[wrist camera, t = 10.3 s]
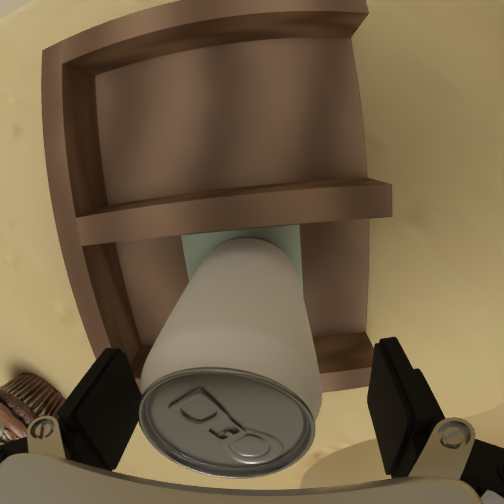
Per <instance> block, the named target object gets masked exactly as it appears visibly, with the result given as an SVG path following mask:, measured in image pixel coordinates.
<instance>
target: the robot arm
mask: <svg viewBox="0 0 504 504" xmlns="http://www.w3.org/2000/svg"><path fill="white" fill-rule="evenodd" d="M141 396H142V395H141V392H140V390H139V387H138V385H137V383H136V380H135V377H134V375H133V372H132V370H131V367H130V364H129V362H128V359H127V356H126V354H125V353H124V352H122V350H121V349H119V348H106V349H105V350H104V351H103V352H102V353H101V355H100V356H99V357H98V359H97V360H96V361H95V362H94V364H93V365H92V366H91V368H90V369H89V370H88V372H87V373H86V374H85V375H84V377H83V378H82V379H81V381H80V382H79V383H78V385H77V386H76V387H75V389H74V390H73V391H72V393H71V394H70V395H69V397H68V398H67V400H66V401H65V402H64V404H63V405H62V406H61V408H60V409H59V410H58V412H57V415H58V416H59V418H58V419H57V420H56V419H55V418H54V417H51V416H41V417H39V418H36V419H35V420H34V421H32V422H31V424H30V425H29V427H28V429H27V436H26V437H23V438H20V439H17V440H14V441H11V442H8V443H5V444H2V445H0V504H504V448H501V447H498V446H495V445H492V444H489V443H486V442H483V441H480V440H477V439H475V430H474V428H473V427H472V425H471V424H470V423H469V422H468V421H466V420H464V419H461V418H456V417H453V418H447V419H445V417H444V415H443V412H442V410H441V408H440V406H439V404H438V402H437V400H436V398H435V397H434V395H433V393H432V391H431V389H430V387H429V385H428V383H427V381H426V379H425V377H424V375H423V374H422V372H421V370H420V369H418V368H417V369H413V368H412V366H411V364H410V362H409V360H408V358H407V356H406V354H405V352H404V351H403V349H402V347H401V345H400V343H399V341H398V339H397V338H396V337H390V338H383V339H380V341H379V343H376V344H375V346H374V354H373V362H372V369H371V376H370V383H369V390H368V396H367V403H368V408H369V411H370V415H371V419H372V422H373V426H374V430H375V433H376V437H377V441H378V445H379V449H380V453H381V457H382V461H383V465H384V469H385V473H386V475H390V474H391V477H392V479H386V480H380V481H372V482H365V483H358V484H350V485H342V486H332V487H320V488H308V489H288V490H242V489H222V488H209V487H199V486H190V485H182V484H174V483H167V482H161V481H155V480H150V479H144V478H139V477H134V476H129V475H125V474H121V473H116V472H112V470H114V469H116V467H117V465H118V463H119V461H120V459H121V457H122V455H123V453H124V450H125V448H126V446H127V444H128V442H129V440H130V438H131V435H132V433H133V431H134V429H135V427H136V425H137V423H138V421H139V420H138V404H139V401H140V398H141Z"/></svg>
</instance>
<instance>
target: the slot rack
mask: <svg viewBox="0 0 504 504" xmlns="http://www.w3.org/2000/svg"><path fill="white" fill-rule="evenodd" d="M368 14H369V12H368V7H367V4H366V0H180V1H176V2H172V3H168V4H164V5H160V6H156V7H152V8H149V9H145V10H142V11H138V12H135V13H132V14H129V15H126V16H123V17H120V18H117V19H114V20H111V21H108V22H106V23H103V24H100V25H98V26H95V27H93V28H90V29H88V30H85V31H83V32H81V33H78V34H76V35H74V36H71V37H69V38H67V39H65V40H63V41H61V42H58V43H56V44H54V45H52V46H50V47H48V48H46V49H44V50H42V78H41V92H42V122H43V137H44V148H45V158H46V167H47V175H48V182H49V189H50V195H51V201H52V207H53V212H54V218H55V223H56V228H57V232H58V237H59V242H60V246H61V250H62V254H63V258H64V262H65V266H66V270H67V274H68V277H69V281H70V284H71V288H72V291H73V294H74V298H75V301H76V304H77V307H78V310H79V313H80V316H81V319H82V322H83V325H84V328H85V331H86V334H87V336H88V339H89V342H90V345H91V347H92V350H93V352H94V355H95V357H96V360H97V359H98V357H99V356H100V355H101V353H102V352H103V351H104V350H105V349H106V348H119V349H121V350H122V352H124V353H125V354H126V356H127V359H128V362H129V364H130V367H131V370H132V372H133V375H134V377H135V380H136V383H137V385H138V387H139V390H140V392H141V374H142V370H143V367H144V364H145V361H146V359H147V357H148V355H149V353H150V351H151V349H152V347H153V345H154V343H155V341H156V339H157V337H158V336H159V334H160V332H161V330H162V328H163V327H164V325H165V323H166V321H167V320H168V318H169V316H170V314H171V313H172V311H173V309H174V307H175V306H176V304H177V302H178V300H179V299H180V297H181V295H182V294H183V292H184V290H185V288H186V287H187V285H188V283H189V282H190V280H191V278H192V277H193V275H194V273H195V272H196V270H197V268H198V267H199V265H200V264H201V262H202V261H203V259H204V258H205V257H206V255H207V254H208V253H209V252H210V251H211V250H213V249H214V248H215V247H217V246H218V245H220V244H222V243H224V242H226V241H229V240H232V239H237V238H255V239H260V240H263V241H266V242H269V243H271V244H273V245H274V246H276V247H278V248H279V249H280V250H282V251H283V252H284V253H285V254H286V255H287V256H288V258H289V259H290V260H291V262H292V263H293V265H294V267H295V269H296V272H297V275H298V278H299V282H300V286H301V290H302V294H303V298H304V302H305V307H306V311H307V315H308V320H309V324H310V329H311V333H312V338H313V343H314V348H315V352H316V357H317V362H318V368H319V373H320V379H321V386H322V393H323V392H332V391H339V390H347V389H354V388H360V387H366V386H369V383H370V376H371V369H372V362H373V354H374V348H373V346H372V344H371V342H370V340H369V338H368V336H367V334H366V318H367V301H368V276H369V218H382V217H392V184H388V183H384V182H381V181H377V180H373V179H369V178H367V165H366V151H365V139H364V129H363V119H362V110H361V102H360V94H359V87H358V80H357V73H356V67H355V61H354V55H353V49H352V44H351V37H352V35H353V34H354V33H355V31H356V30H357V29H358V27H359V26H360V25H361V23H362V22H363V21H364V19H365V18H366V17H367V15H368ZM141 395H142V393H141Z"/></svg>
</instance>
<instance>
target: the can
mask: <svg viewBox="0 0 504 504" xmlns="http://www.w3.org/2000/svg"><path fill="white" fill-rule="evenodd" d="M141 393H142V396H141V398H140V401H139V404H138V420H139V424H140V427H141V429H142V431H143V433H144V435H145V436H146V438H147V439H148V441H149V442H150V443H151V444H152V445H153V446H154V447H155V448H156V449H157V450H158V451H159V452H160V453H161V454H163V455H164V456H165V457H167V458H168V459H170V460H171V461H173V462H175V463H177V464H179V465H181V466H183V467H185V468H187V469H190V470H192V471H195V472H198V473H201V474H205V475H209V476H214V477H221V478H232V479H244V478H255V477H261V476H266V475H270V474H273V473H276V472H279V471H281V470H284V469H286V468H288V467H289V466H291V465H293V464H294V463H296V462H297V461H298V460H300V459H301V458H302V457H303V456H304V455H305V454H306V453H307V451H308V450H309V448H310V447H311V445H312V443H313V440H314V437H315V421H316V419H317V416H318V414H319V411H320V407H321V403H322V386H321V379H320V373H319V368H318V362H317V357H316V352H315V348H314V343H313V338H312V333H311V329H310V324H309V320H308V315H307V311H306V307H305V302H304V298H303V294H302V290H301V286H300V282H299V278H298V275H297V272H296V269H295V267H294V265H293V263H292V262H291V260H290V259H289V258H288V256H287V255H286V254H285V253H284V252H283V251H282V250H280V249H279V248H278V247H276V246H274V245H273V244H271V243H269V242H266V241H263V240H260V239H255V238H237V239H232V240H229V241H226V242H224V243H222V244H220V245H218V246H217V247H215V248H214V249H213V250H211V251H210V252H209V253H208V254H207V255H206V257H205V258H204V259H203V261H202V262H201V264H200V265H199V267H198V268H197V270H196V272H195V273H194V275H193V277H192V278H191V280H190V282H189V283H188V285H187V287H186V288H185V290H184V292H183V294H182V295H181V297H180V299H179V300H178V302H177V304H176V306H175V307H174V309H173V311H172V313H171V314H170V316H169V318H168V320H167V321H166V323H165V325H164V327H163V328H162V330H161V332H160V334H159V336H158V337H157V339H156V341H155V343H154V345H153V347H152V349H151V351H150V353H149V355H148V357H147V359H146V361H145V364H144V367H143V370H142V374H141Z"/></svg>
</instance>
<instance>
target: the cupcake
mask: <svg viewBox="0 0 504 504" xmlns="http://www.w3.org/2000/svg"><path fill="white" fill-rule="evenodd" d="M65 401H66V400H65V399H64V398H63V397H62V395H61V393H59V392H58V391H56V390H55V389H54V388H53V387H52V386H51V385H50V384H49V383H48V382H47V381H45V380H44V379H42V378H40V377H39V376H37V375H35V374H32V373H23V374H20V375H19V376H17V377H16V378H14V379H12V380H11V381H9V382H8V383H7V384H5V385H3V386H1V387H0V445H2V444H5V443H8V442H11V441H14V440H17V439H20V438H23V437H26V436H27V429H28V427H29V425H30V424H31V422H32V421H34V420H35V419H36V418H39V417H41V416H51V417H54V418H55V419H56V420H57V419H58V418H59V416H58V415H57V412H58V410H59V409H60V408H61V406H62V405H63V404H64V402H65Z"/></svg>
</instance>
